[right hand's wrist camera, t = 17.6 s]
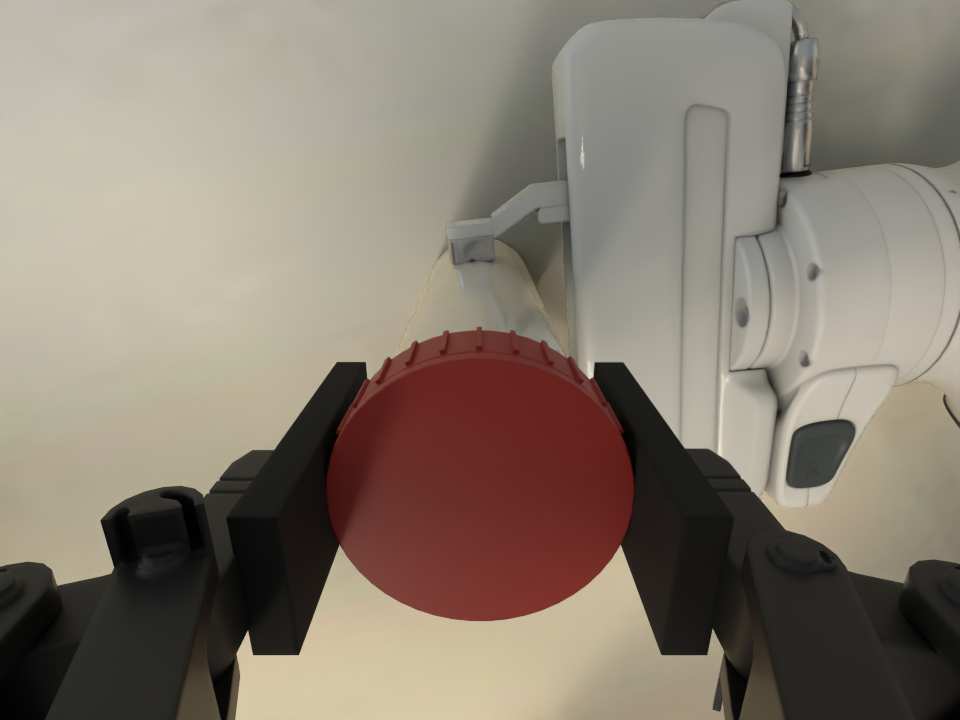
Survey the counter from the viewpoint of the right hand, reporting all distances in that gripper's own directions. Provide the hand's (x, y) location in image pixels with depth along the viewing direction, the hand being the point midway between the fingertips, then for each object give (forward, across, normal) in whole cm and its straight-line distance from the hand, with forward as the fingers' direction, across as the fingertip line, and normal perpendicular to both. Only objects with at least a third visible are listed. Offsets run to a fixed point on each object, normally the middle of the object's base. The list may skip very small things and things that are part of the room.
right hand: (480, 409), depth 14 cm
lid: (-4, 0, 0) cm, 4 cm away
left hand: (+8, -1, 0) cm, 8 cm away
